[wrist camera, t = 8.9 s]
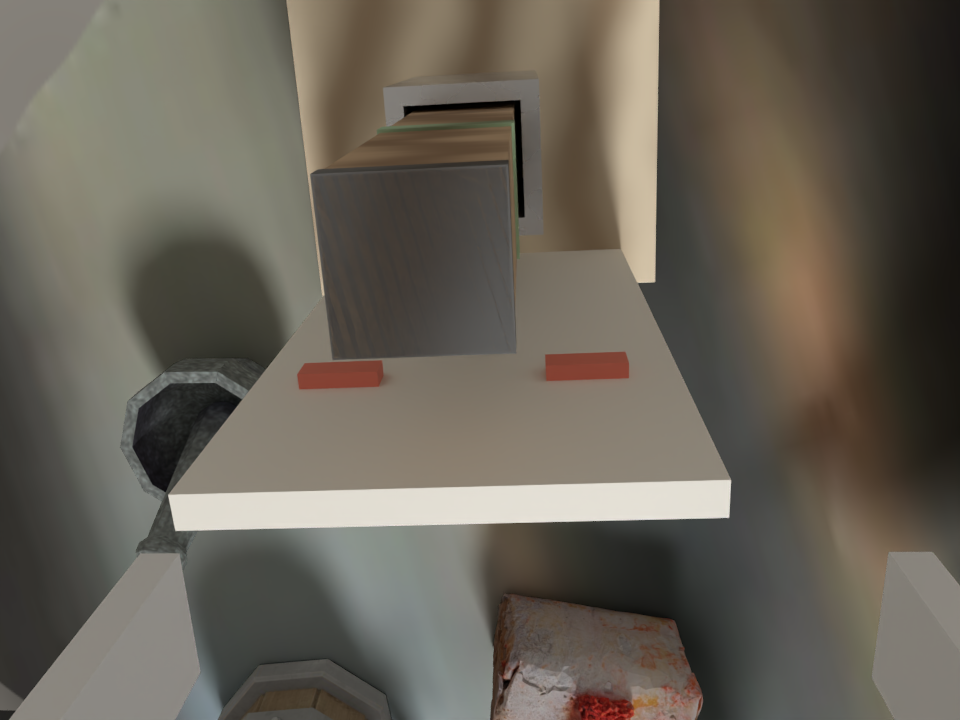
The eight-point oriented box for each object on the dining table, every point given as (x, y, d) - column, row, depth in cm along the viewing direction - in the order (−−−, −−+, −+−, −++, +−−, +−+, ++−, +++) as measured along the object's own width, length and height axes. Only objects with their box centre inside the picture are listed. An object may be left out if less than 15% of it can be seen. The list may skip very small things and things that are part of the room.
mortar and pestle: (181, 312, 55) (93, 382, 44) (324, 353, 55) (273, 433, 44) (154, 463, 59) (67, 563, 48) (288, 500, 59) (233, 608, 48)
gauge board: (621, 238, 50) (732, 460, 24) (621, 268, 51) (729, 517, 24) (350, 250, 51) (164, 475, 25) (353, 279, 52) (175, 530, 25)
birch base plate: (655, -50, 47) (660, -53, 45) (651, 275, 53) (654, 282, 51) (290, -26, 48) (282, -28, 46) (327, 288, 54) (322, 295, 53)
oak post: (516, 97, 42) (510, 162, 19) (520, 192, 43) (518, 355, 21) (422, 102, 42) (307, 172, 20) (429, 197, 44) (330, 362, 21)
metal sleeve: (535, 70, 47) (538, 78, 36) (538, 190, 50) (543, 234, 38) (415, 76, 48) (382, 87, 37) (424, 196, 50) (396, 241, 39)
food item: (694, 607, 61) (725, 708, 52) (667, 697, 64) (692, 808, 54) (503, 576, 61) (499, 672, 52) (485, 667, 64) (478, 774, 54)
